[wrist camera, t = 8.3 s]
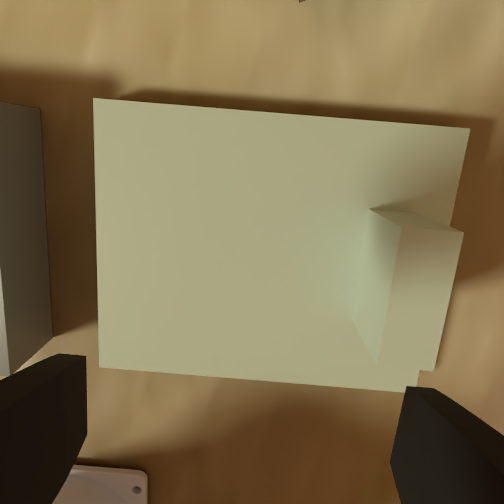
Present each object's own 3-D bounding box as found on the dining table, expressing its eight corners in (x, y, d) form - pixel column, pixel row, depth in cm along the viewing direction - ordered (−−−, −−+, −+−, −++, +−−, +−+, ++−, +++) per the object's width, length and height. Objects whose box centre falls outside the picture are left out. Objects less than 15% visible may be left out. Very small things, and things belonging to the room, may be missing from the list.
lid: (401, 372, 20) (455, 457, 15) (113, 348, 20) (56, 424, 15) (449, 130, 17) (540, 121, 12) (110, 103, 17) (37, 80, 12)
